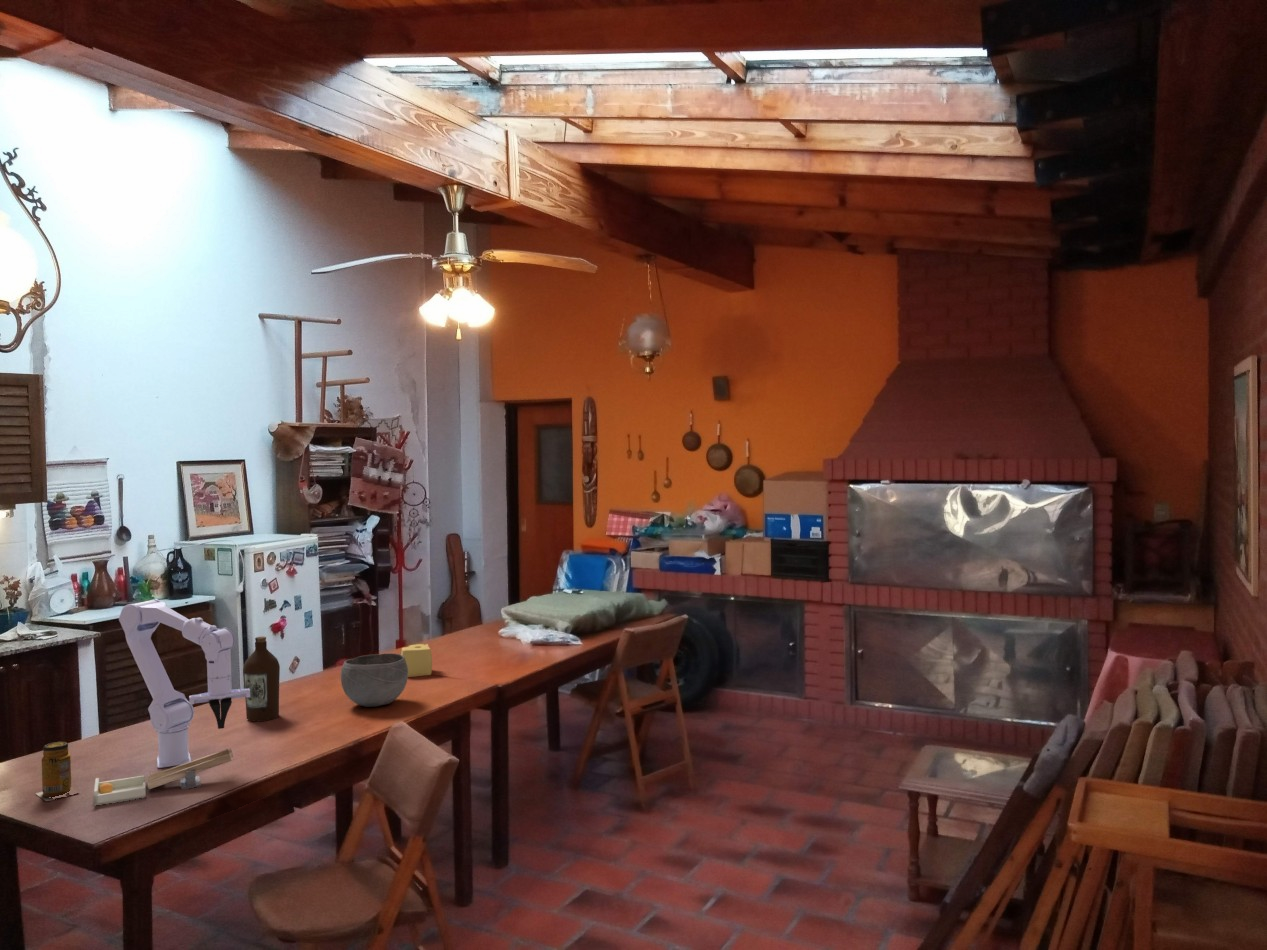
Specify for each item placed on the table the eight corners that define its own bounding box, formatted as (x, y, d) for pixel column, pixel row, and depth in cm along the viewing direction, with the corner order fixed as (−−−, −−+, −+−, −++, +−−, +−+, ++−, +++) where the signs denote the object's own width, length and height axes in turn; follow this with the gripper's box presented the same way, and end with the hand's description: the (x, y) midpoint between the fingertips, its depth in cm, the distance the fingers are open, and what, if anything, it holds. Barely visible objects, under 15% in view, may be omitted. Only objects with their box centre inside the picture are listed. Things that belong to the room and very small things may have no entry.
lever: (148, 777, 242) (146, 769, 242) (230, 749, 251) (228, 741, 251) (149, 790, 233) (146, 782, 232) (234, 760, 241) (232, 753, 241)
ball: (96, 790, 231) (104, 779, 232) (107, 795, 232) (116, 784, 233) (95, 794, 228) (104, 782, 229) (107, 799, 229) (115, 788, 230)
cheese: (400, 671, 357) (400, 645, 357) (430, 669, 361) (429, 643, 360) (402, 678, 347) (401, 650, 347) (432, 675, 351) (432, 648, 350)
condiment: (68, 786, 239) (66, 738, 239) (79, 794, 233) (78, 745, 233) (35, 794, 234) (33, 745, 234) (46, 802, 228) (44, 752, 228)
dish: (96, 792, 234) (95, 778, 234) (145, 784, 239) (144, 770, 239) (94, 806, 225) (94, 791, 225) (145, 797, 230) (145, 783, 230)
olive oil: (254, 712, 304) (252, 634, 304) (287, 712, 303) (284, 634, 303) (237, 722, 294) (235, 640, 293) (271, 722, 293) (268, 640, 292)
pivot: (180, 781, 241) (179, 764, 241) (199, 778, 243) (198, 761, 243) (181, 789, 235) (180, 773, 235) (201, 786, 237) (200, 769, 237)
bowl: (417, 696, 321) (416, 651, 320) (395, 713, 300) (394, 666, 299) (356, 695, 323) (355, 651, 323) (330, 713, 302) (329, 665, 302)
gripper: (189, 682, 244) (191, 735, 244) (250, 675, 251) (252, 727, 251) (188, 677, 250) (189, 728, 251) (247, 670, 257) (249, 720, 257)
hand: (220, 727), depth 251 cm, fingers closed
